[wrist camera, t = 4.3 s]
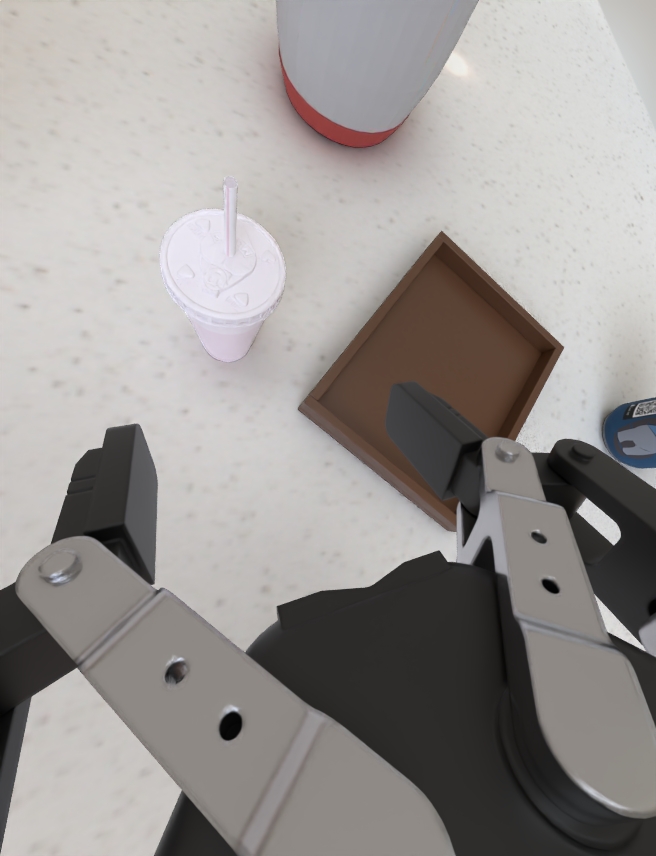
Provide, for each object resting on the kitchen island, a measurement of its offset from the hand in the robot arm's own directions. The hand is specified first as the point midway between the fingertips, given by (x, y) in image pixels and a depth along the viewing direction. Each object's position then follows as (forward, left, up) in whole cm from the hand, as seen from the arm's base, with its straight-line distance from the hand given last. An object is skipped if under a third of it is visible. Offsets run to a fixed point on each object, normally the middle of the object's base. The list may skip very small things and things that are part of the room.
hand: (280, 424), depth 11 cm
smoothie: (+6, +7, -16) cm, 18 cm away
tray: (+16, -9, -15) cm, 24 cm away
